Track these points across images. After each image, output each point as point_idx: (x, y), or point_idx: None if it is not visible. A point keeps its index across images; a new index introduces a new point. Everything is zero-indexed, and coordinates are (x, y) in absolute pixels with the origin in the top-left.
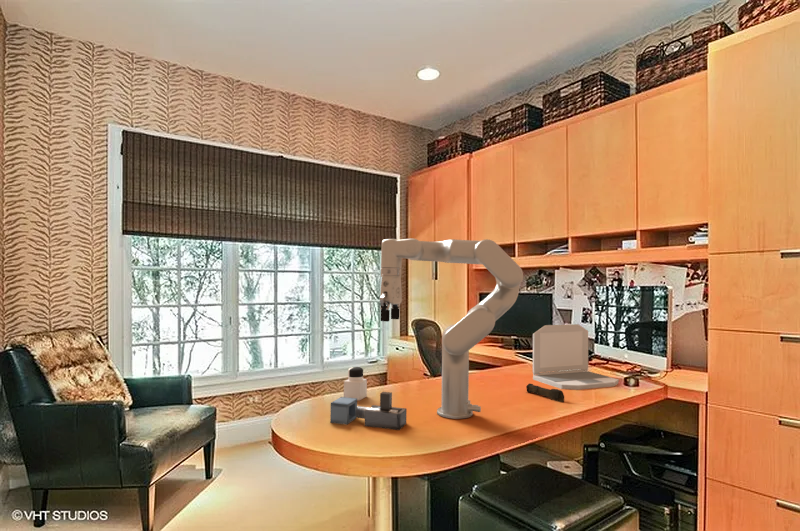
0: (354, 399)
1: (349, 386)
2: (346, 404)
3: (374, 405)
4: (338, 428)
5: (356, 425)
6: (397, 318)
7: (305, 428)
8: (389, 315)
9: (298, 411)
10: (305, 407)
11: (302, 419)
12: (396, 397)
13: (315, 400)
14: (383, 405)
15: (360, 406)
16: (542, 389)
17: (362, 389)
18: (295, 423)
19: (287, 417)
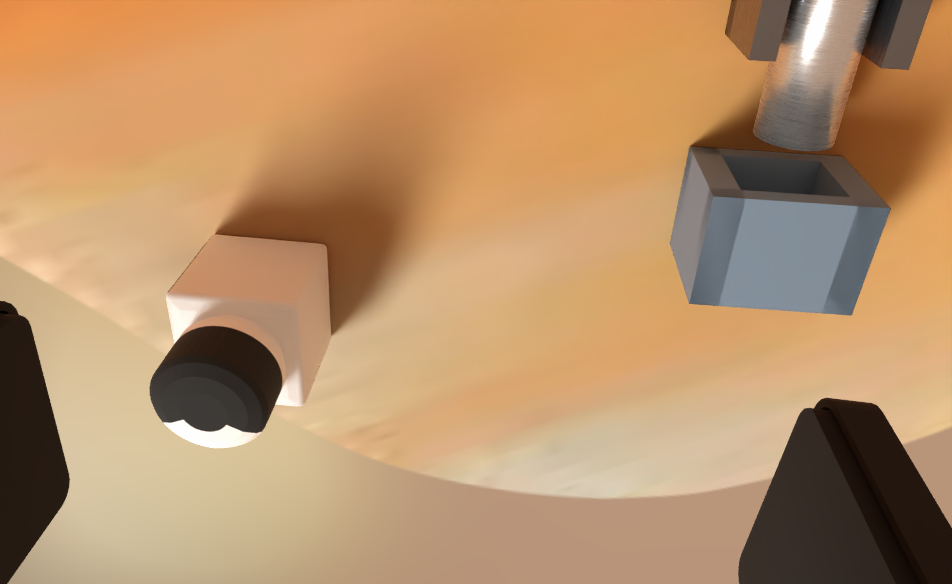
0: (745, 205)
1: (310, 353)
2: (888, 213)
3: (760, 42)
4: (918, 177)
5: (853, 96)
6: (23, 340)
7: (921, 330)
8: (905, 530)
9: (636, 451)
10: (559, 447)
11: (768, 392)
12: (126, 30)
13: (418, 449)
14: None
15: (808, 131)
16: None
17: (267, 270)
18: (839, 397)
19: (745, 458)
